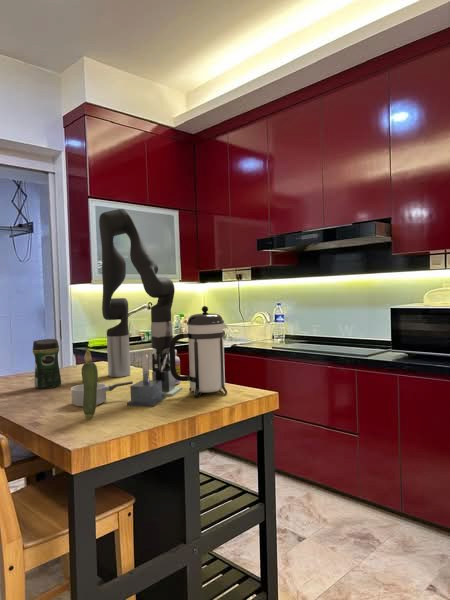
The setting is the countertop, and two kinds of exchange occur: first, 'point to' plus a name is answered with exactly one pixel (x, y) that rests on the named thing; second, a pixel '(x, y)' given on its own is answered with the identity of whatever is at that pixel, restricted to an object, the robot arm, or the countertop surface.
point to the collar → (166, 380)
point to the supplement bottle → (177, 367)
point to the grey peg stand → (146, 389)
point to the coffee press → (203, 353)
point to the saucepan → (78, 395)
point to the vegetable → (89, 385)
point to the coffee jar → (46, 363)
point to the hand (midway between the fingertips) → (163, 380)
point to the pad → (172, 391)
